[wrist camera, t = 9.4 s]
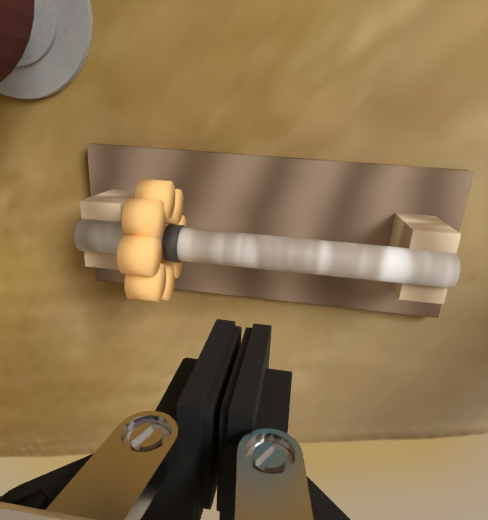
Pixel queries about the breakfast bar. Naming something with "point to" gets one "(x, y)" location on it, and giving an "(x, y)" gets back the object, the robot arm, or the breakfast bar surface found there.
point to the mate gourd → (42, 45)
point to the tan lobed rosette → (149, 240)
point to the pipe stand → (288, 226)
